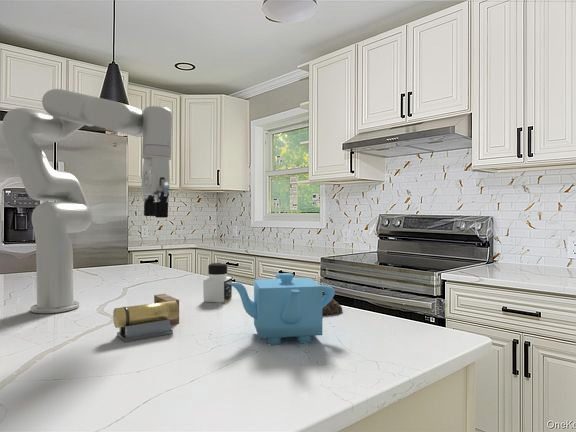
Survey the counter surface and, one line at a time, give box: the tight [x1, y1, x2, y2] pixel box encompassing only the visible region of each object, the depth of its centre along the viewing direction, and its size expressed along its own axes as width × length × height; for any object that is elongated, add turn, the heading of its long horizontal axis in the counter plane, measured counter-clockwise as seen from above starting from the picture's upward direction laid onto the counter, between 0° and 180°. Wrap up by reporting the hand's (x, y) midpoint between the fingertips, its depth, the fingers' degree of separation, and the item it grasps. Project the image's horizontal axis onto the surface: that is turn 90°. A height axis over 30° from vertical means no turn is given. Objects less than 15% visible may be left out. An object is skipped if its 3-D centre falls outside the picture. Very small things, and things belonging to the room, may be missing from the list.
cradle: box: [116, 319, 174, 343], centre depth 101 cm, size 6×11×3 cm, turn 127°
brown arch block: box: [153, 293, 180, 326], centre depth 114 cm, size 10×3×6 cm, turn 37°
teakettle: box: [227, 272, 336, 346], centre depth 99 cm, size 19×19×15 cm
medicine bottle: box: [203, 262, 233, 304], centre depth 139 cm, size 7×7×12 cm
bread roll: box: [322, 294, 343, 317], centre depth 125 cm, size 13×12×5 cm
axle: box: [112, 301, 180, 329], centre depth 101 cm, size 14×4×4 cm, turn 127°
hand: (155, 216), depth 117 cm, fingers open, 9 cm apart
